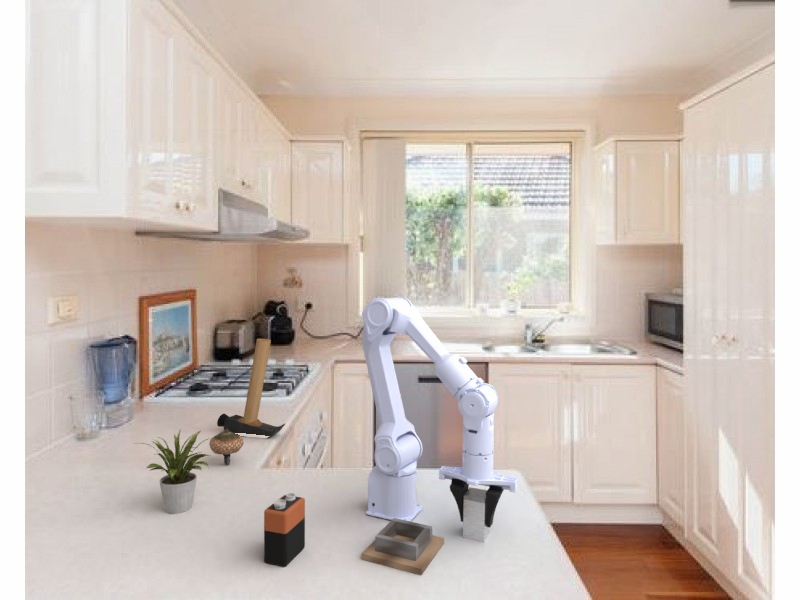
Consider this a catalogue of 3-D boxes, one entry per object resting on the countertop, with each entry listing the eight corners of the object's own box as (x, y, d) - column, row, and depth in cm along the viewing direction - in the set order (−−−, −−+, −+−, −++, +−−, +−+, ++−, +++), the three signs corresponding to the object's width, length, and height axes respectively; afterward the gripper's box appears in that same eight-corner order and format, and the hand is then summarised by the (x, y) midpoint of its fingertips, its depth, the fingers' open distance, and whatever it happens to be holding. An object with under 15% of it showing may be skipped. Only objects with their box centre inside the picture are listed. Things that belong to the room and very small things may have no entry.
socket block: (361, 559, 86) (361, 539, 86) (389, 530, 96) (389, 512, 96) (421, 575, 82) (421, 553, 82) (444, 543, 92) (444, 524, 92)
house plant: (137, 534, 94) (136, 447, 93) (129, 505, 105) (128, 428, 105) (217, 515, 102) (216, 434, 101) (201, 490, 113) (201, 418, 113)
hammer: (282, 441, 155) (299, 346, 152) (273, 447, 150) (291, 348, 147) (225, 424, 160) (240, 331, 157) (215, 428, 155) (231, 333, 152)
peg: (463, 537, 94) (463, 495, 94) (469, 528, 98) (469, 487, 97) (484, 542, 92) (484, 499, 92) (489, 532, 96) (490, 490, 96)
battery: (262, 563, 85) (262, 504, 84) (284, 543, 91) (284, 488, 91) (285, 568, 83) (285, 508, 83) (305, 547, 90) (306, 492, 89)
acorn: (206, 463, 130) (205, 424, 130) (238, 457, 135) (238, 419, 134) (213, 473, 123) (213, 432, 123) (247, 466, 128) (247, 427, 128)
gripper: (433, 451, 94) (432, 523, 94) (512, 463, 88) (511, 540, 88) (446, 440, 100) (445, 508, 101) (520, 451, 94) (518, 523, 95)
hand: (476, 522), depth 95 cm, fingers open, 4 cm apart
